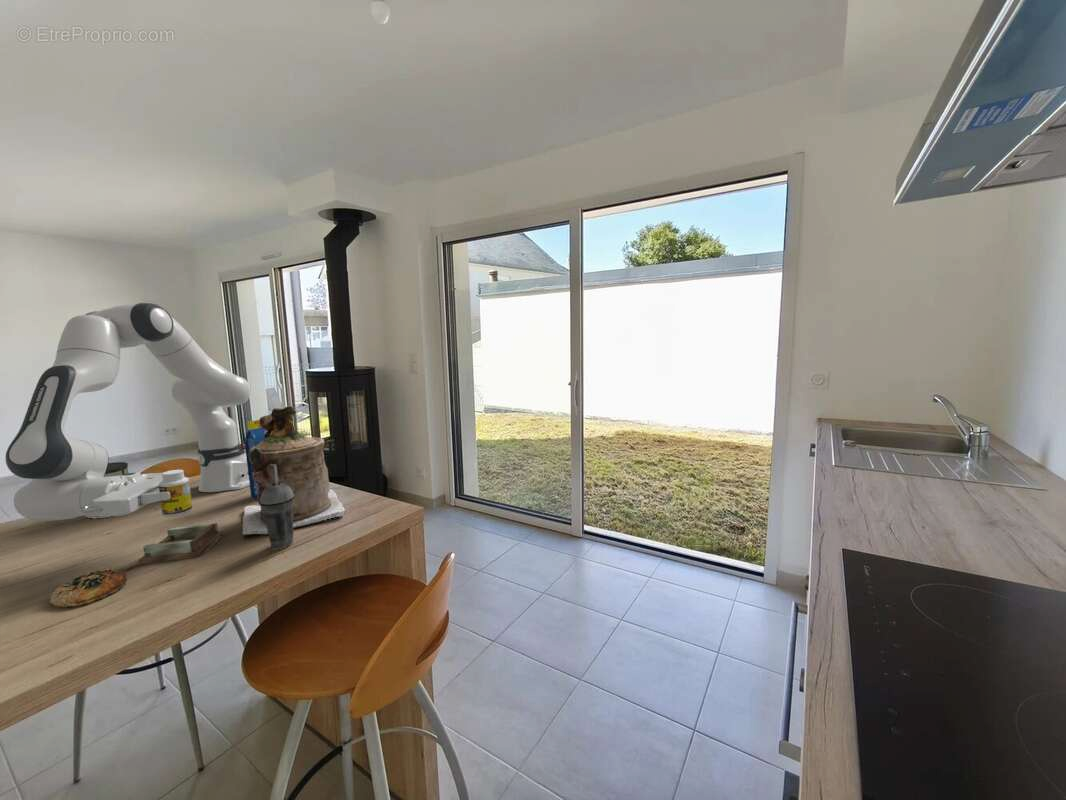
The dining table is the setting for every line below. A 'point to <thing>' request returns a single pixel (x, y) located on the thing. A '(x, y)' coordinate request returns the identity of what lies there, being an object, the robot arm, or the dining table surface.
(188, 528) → the clip cradle
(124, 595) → the dining table surface
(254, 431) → the blue food package
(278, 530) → the beverage cup
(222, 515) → the dining table surface
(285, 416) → the cookie jar
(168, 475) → the supplement bottle
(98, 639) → the dining table surface
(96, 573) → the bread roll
